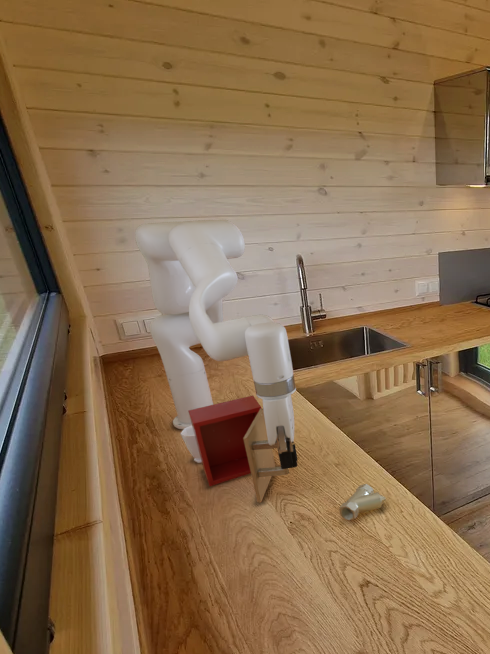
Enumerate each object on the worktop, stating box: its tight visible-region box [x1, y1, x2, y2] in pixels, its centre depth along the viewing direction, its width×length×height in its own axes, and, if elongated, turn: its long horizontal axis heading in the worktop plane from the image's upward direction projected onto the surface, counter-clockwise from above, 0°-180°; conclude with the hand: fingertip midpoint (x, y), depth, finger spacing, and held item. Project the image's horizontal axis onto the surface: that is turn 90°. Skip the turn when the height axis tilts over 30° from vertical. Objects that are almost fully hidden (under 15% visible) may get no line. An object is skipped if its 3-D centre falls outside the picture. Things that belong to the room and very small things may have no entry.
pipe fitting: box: [338, 483, 387, 522], centre depth 100 cm, size 8×4×7 cm
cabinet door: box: [243, 407, 290, 503], centre depth 108 cm, size 7×14×16 cm, turn 8°
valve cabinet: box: [188, 395, 263, 487], centre depth 114 cm, size 8×14×16 cm, turn 125°
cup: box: [179, 426, 202, 464], centre depth 121 cm, size 7×10×8 cm
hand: (289, 464), depth 104 cm, fingers closed
